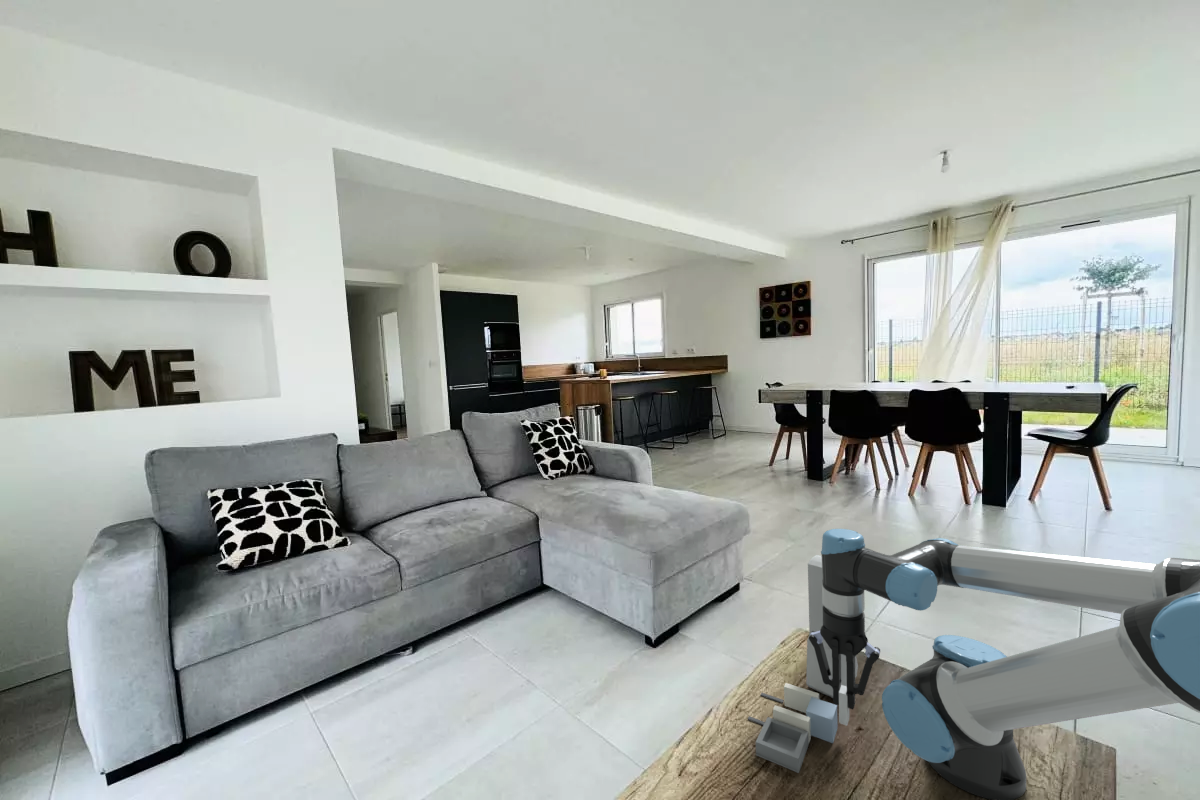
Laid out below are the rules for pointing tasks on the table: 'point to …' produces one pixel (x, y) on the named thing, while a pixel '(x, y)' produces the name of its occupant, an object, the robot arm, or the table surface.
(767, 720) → the tray
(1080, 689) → the robot arm
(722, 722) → the table surface
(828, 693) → the electronic device
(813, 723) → the block
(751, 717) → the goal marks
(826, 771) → the table surface
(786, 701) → the channel
